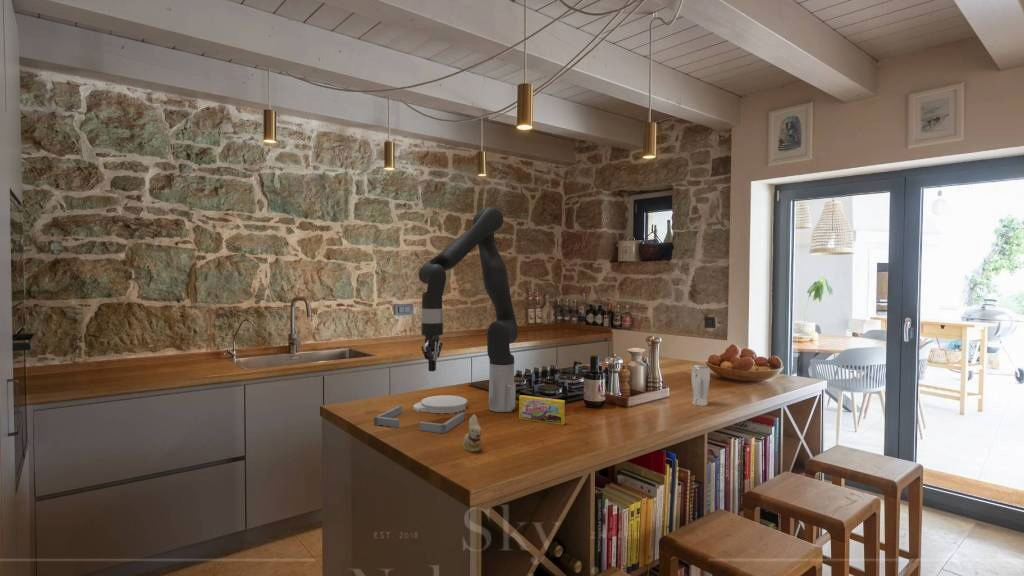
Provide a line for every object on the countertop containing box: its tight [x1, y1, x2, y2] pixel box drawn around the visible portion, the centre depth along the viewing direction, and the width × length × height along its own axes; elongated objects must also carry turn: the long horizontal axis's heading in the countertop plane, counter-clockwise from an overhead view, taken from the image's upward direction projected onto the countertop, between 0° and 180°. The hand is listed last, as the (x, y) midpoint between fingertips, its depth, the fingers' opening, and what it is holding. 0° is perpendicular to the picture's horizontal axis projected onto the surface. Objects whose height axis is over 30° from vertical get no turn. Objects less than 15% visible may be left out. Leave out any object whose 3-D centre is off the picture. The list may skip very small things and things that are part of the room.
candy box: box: [518, 394, 566, 425], centre depth 184 cm, size 16×2×8 cm, turn 68°
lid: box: [412, 394, 468, 415], centre depth 199 cm, size 17×20×3 cm
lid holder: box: [373, 405, 465, 434], centre depth 180 cm, size 25×16×2 cm, turn 72°
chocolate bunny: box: [462, 414, 482, 453], centre depth 155 cm, size 6×8×10 cm
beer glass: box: [690, 364, 711, 407], centre depth 212 cm, size 7×7×15 cm
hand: (432, 370), depth 187 cm, fingers closed
